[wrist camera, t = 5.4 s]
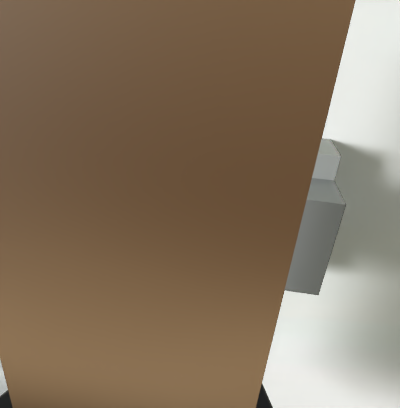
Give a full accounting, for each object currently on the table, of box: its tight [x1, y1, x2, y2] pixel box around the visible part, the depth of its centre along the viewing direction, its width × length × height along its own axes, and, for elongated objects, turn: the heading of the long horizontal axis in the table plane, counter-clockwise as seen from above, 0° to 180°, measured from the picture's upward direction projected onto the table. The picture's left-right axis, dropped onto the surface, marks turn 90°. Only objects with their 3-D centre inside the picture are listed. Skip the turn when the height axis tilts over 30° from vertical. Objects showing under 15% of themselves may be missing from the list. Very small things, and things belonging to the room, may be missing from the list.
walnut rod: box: [0, 0, 355, 408], centre depth 8 cm, size 16×4×4 cm, turn 175°
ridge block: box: [285, 139, 346, 295], centre depth 16 cm, size 6×10×4 cm, turn 85°
